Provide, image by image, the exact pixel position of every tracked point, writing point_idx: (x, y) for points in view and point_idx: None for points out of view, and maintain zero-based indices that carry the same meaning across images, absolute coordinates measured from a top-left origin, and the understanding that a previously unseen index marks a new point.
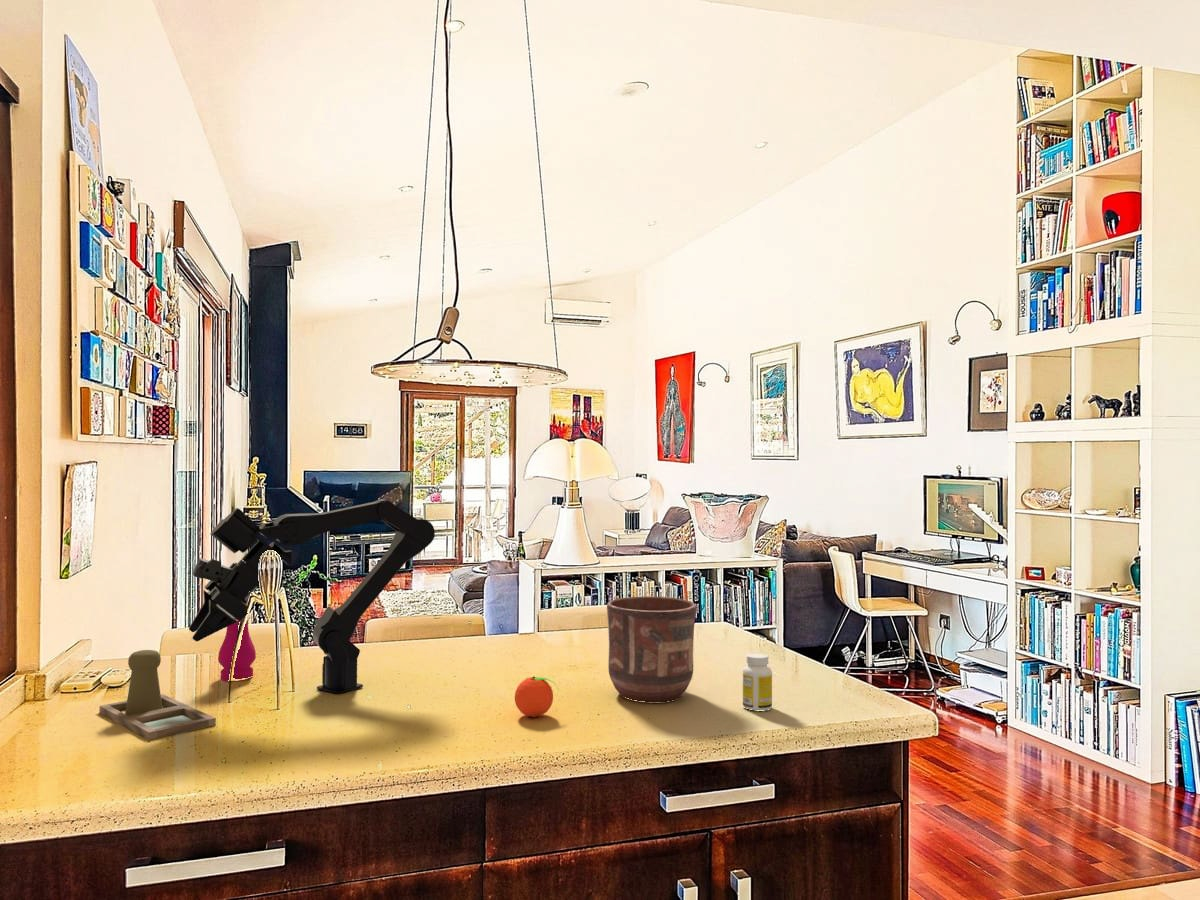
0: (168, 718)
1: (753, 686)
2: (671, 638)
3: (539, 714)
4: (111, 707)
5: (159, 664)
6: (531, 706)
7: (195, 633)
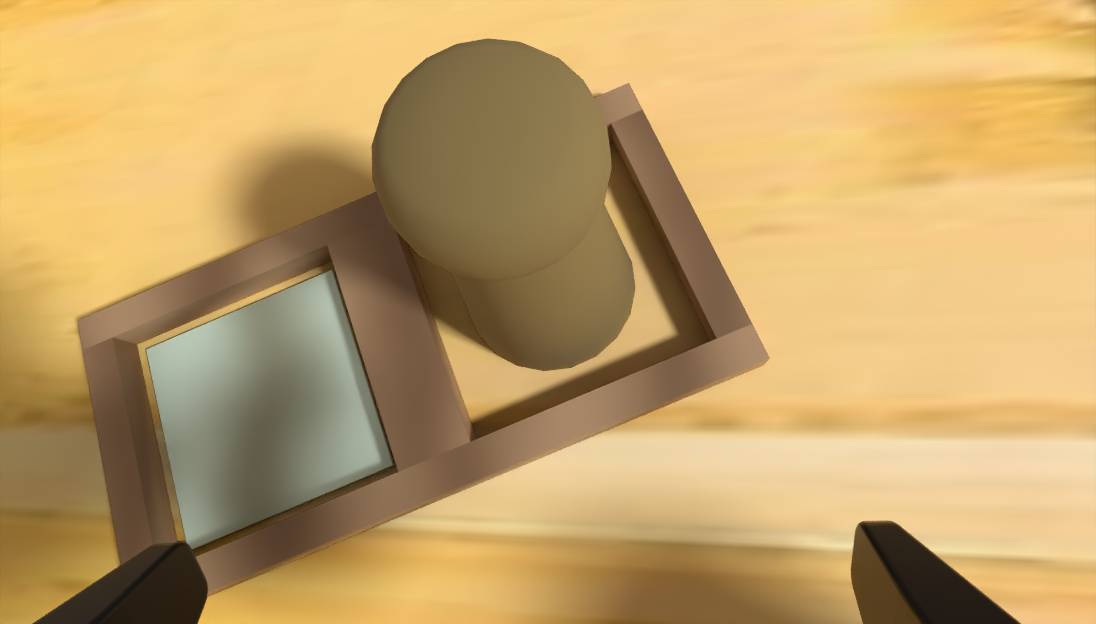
0: (359, 398)
1: None
2: None
3: None
4: None
5: (478, 278)
6: None
7: (88, 586)
